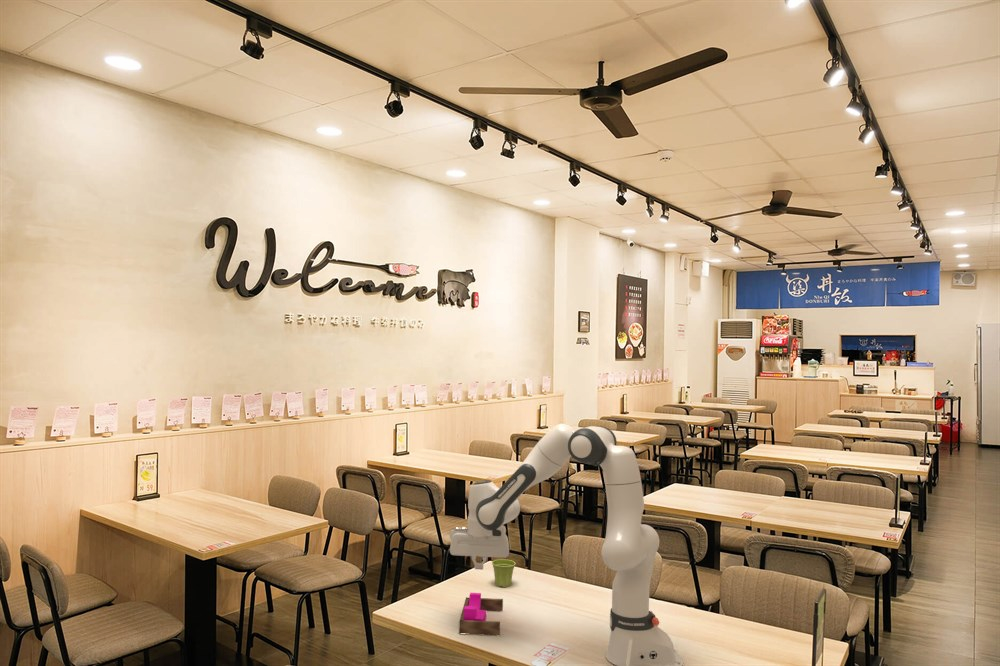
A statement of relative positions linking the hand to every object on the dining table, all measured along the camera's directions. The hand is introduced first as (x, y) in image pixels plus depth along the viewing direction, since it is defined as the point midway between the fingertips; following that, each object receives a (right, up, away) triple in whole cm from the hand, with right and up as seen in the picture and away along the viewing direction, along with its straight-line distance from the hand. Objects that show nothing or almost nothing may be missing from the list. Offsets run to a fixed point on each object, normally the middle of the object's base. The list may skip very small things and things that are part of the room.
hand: (478, 568), depth 228 cm
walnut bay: (+1, -18, -1) cm, 18 cm away
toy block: (-1, -18, -2) cm, 18 cm away
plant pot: (+9, -19, +36) cm, 41 cm away
